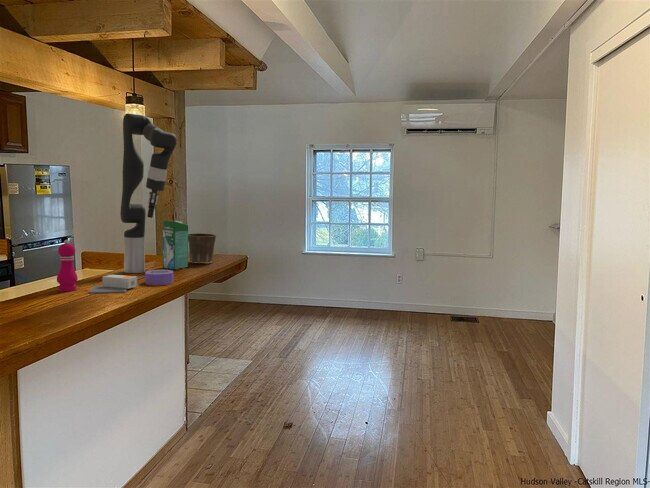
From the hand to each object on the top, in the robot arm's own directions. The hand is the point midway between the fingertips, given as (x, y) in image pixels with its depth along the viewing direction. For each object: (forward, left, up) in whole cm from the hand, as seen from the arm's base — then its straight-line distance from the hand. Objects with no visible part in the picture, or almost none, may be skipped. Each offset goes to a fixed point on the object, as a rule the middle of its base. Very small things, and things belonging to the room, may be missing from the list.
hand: (149, 217), depth 204 cm
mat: (+15, -14, -29) cm, 35 cm away
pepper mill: (+13, -30, -29) cm, 44 cm away
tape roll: (+1, +4, -29) cm, 29 cm away
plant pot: (-56, +24, -29) cm, 68 cm away
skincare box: (+14, -5, -26) cm, 30 cm away
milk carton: (-39, +10, -29) cm, 50 cm away
